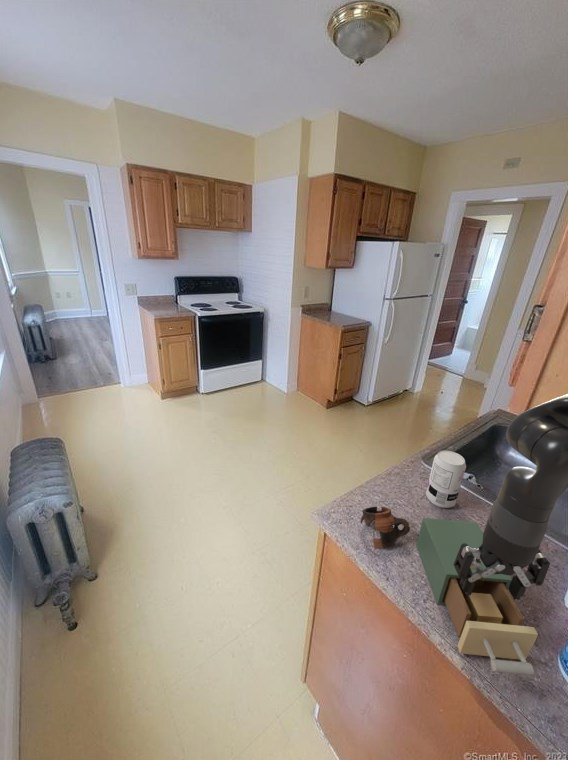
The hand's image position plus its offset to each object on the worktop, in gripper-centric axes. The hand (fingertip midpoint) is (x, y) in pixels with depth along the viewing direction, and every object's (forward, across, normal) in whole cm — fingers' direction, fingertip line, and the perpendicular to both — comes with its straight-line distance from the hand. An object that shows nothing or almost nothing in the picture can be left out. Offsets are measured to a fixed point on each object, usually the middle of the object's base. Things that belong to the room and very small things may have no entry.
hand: (489, 592), depth 60 cm
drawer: (+9, 0, -1) cm, 9 cm away
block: (+8, 0, 0) cm, 8 cm away
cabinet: (+10, 0, +11) cm, 15 cm away
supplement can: (+10, +6, +36) cm, 38 cm away
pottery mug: (+10, -14, +21) cm, 27 cm away
